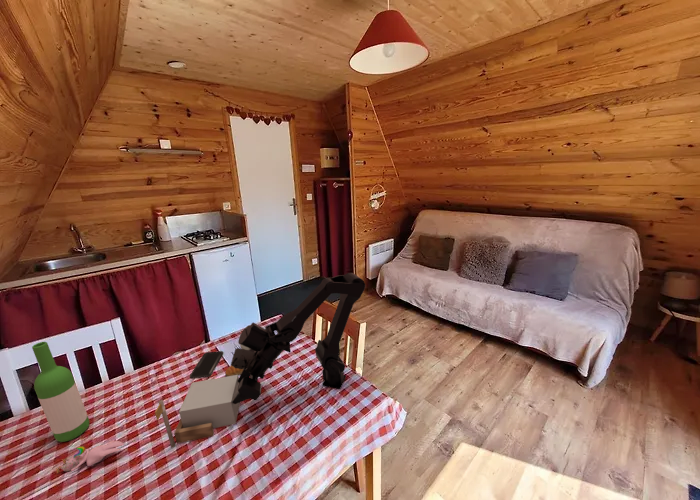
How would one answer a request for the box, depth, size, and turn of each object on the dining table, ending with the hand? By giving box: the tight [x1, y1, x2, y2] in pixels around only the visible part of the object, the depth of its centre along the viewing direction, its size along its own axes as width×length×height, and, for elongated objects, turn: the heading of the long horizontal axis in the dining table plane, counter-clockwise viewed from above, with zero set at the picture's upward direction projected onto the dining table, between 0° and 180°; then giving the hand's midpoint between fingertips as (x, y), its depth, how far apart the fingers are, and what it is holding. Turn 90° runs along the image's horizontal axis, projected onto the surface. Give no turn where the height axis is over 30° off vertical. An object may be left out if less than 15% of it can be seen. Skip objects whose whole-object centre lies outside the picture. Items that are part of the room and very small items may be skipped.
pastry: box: [224, 365, 243, 377], centre depth 111 cm, size 9×7×4 cm
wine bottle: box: [31, 341, 90, 443], centre depth 84 cm, size 8×8×30 cm
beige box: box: [178, 375, 241, 429], centre depth 91 cm, size 14×12×8 cm
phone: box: [189, 350, 224, 380], centre depth 116 cm, size 8×1×15 cm
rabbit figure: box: [55, 440, 125, 475], centre depth 78 cm, size 6×6×15 cm
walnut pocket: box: [154, 399, 215, 449], centre depth 87 cm, size 11×21×15 cm, turn 11°
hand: (236, 392), depth 92 cm, fingers open, 9 cm apart
